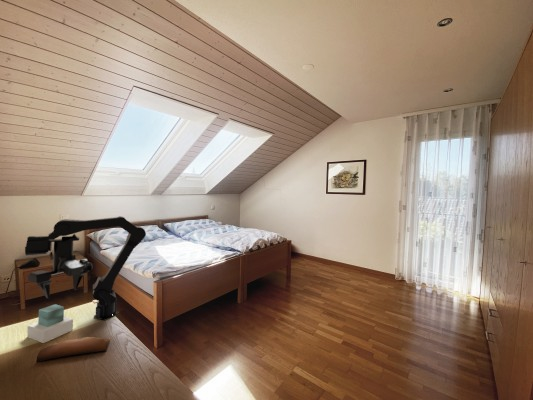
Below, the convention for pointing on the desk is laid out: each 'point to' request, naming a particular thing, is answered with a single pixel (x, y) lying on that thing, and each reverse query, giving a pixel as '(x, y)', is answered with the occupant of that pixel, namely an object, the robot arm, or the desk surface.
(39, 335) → the large white block
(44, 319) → the teal cube
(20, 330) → the desk surface
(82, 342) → the sunglasses case
